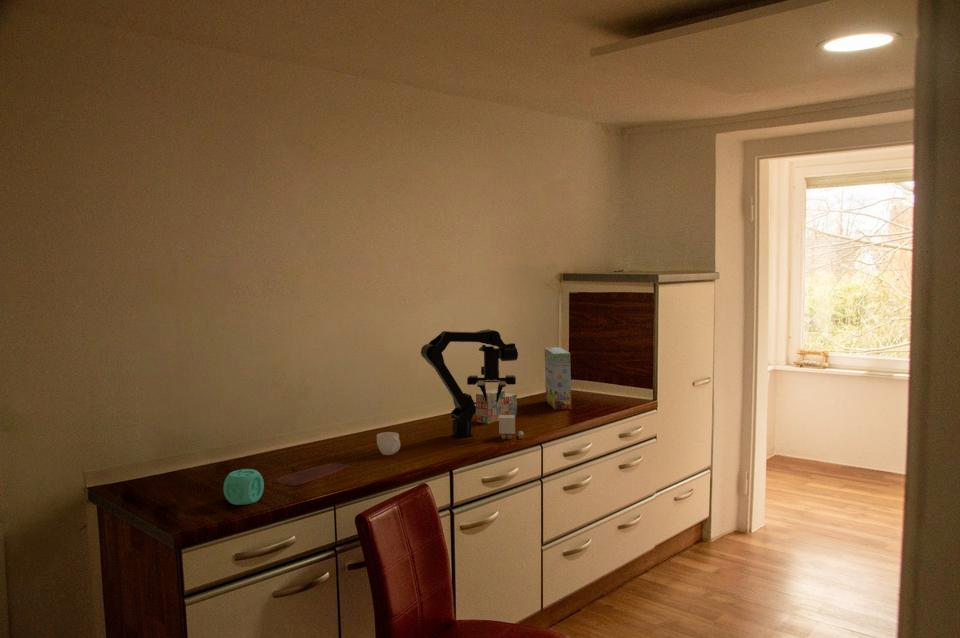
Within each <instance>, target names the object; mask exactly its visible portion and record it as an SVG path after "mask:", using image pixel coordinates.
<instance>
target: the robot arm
mask: <svg viewBox="0 0 960 638" xmlns="http://www.w3.org/2000/svg"><path fill="white" fill-rule="evenodd" d="M452 342H456V343H480V344H482V345H481V346H480V347H479V348H478V351H479V352H483V366H481V367H480V375H481V376H483V377H479V375H468V376H467V378H466V382H467V383H466V385H468V386H469V385H473V386H475V385H476V387H478V388H479V389H480V391H481V392H482V393H483V395H484V398H485V401H486V402H487V394H486V391H487V387H486V383H497V384H498V385H497V390H498V391H497V402H498V399H499V396H500V393H501V391H502V390H503V388H506V387H507V385H508V386H509V385H516V383H517V382H516V381H517V379H516V378H517V377H516V376H515V375H514V374H513V375H508V374H506V375H505V377H500V362H499V361H501V362H511V361H517V360H518V358H519V351H518V348H517V347H516V343H513V342H511V343H505V342H504V340H503V339H502V338H501V334H500V332H499V331H497V330H494V329H487V328H486V329H483V330H479V331H449V330H448V331H447V330H443V331H442V332H440V333H439V334H438V335H437V336H436V337H434V338H433V339H431V340H430V341H429V342H428V343H426V344H424V345H423V346H422V347H421V351H420V355H421V357H422V358H423V359H424V360H425V361H426V362H427V363H428V364H429V365H430V366H431V367H432V368H433V369H434V370H435V373H437V375H438V376H439V378H440V379H441V381H442V383H443V385H445V387H446V390H448V392H449V394H450V395H451V397H452V400H453V405H454V409H453V410H452V411H451V412H450V413H449V414H450V417H451V419H452V420H451V421H452V433H450V434H449V435H450V436H452V437H455V438H458V439H462V438H467V437H472V436H473V435H474V434H473V433H472V423H471V422H472V420H473V417H474V415H476V401H474V399H473V397H472V395H471V394H469V393H465V392H463V390H462V389H461V387H460V386H459V384H458V383H457V381H456V380H455V378H454V376H453V375H452V373H451V371H450V370H449V368H448V367H447V365H446V363H445V360H444V355H443V352H444V351H445V350H446V349H447V347H448V345H449V344H450V343H452ZM487 345H488V346H487ZM496 347H497V348H496ZM473 437H474V436H473Z"/></svg>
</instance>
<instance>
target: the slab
mask: <svg viewBox="0 0 960 638" xmlns="http://www.w3.org/2000/svg"><path fill="white" fill-rule="evenodd" d="M498 433H499V434H516V415H499V421H498Z"/></svg>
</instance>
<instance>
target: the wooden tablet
mask: <svg viewBox="0 0 960 638" xmlns="http://www.w3.org/2000/svg"><path fill="white" fill-rule="evenodd" d="M351 466H352V465H351V464H344V463H337V462H336V463H333V462H332V463H327V464H326V463H325V464H322V465H317V466H314V467H311V468H310V467H309V468H306V469H302V470H299V471H296V472H291V473H289V474H286V475H282V476H280V477H277V478H274V480H273V482H274V483H275V484H282V485H285V486H287V487H298V486H301V485H303V484H304V485H305V484H307V483H310V482H313V481H315V480H319V479H321V478H322V479H323V478H324V477H327V476H329V475H332V474H335V473H338V472H340V471H343V470H346V469H348V468H351Z"/></svg>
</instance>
